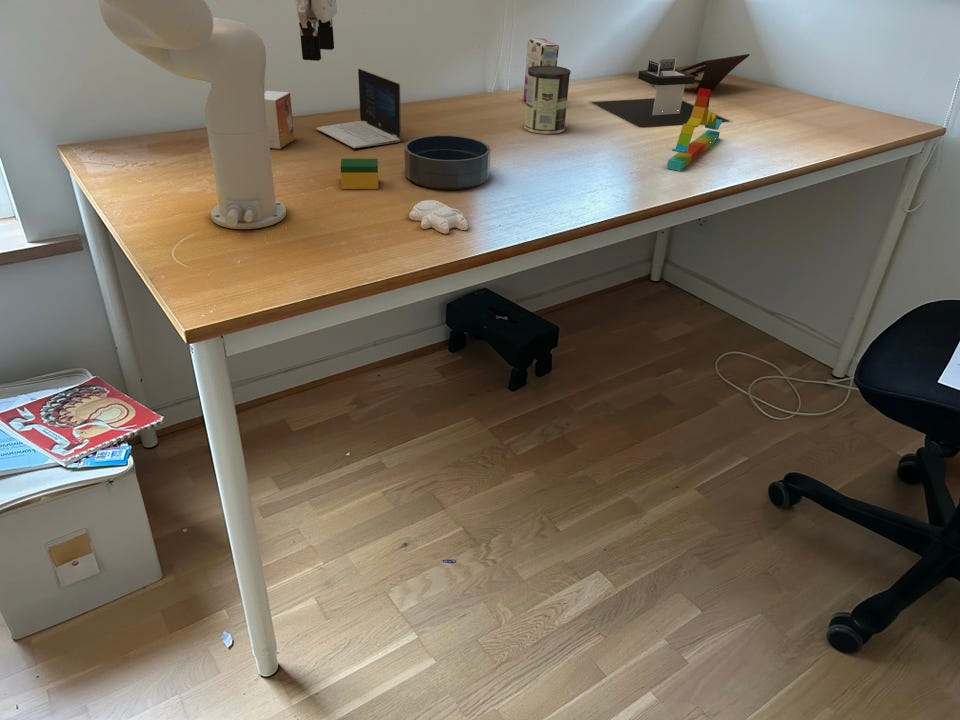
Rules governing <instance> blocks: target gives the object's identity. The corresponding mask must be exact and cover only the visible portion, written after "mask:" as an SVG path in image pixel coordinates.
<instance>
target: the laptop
mask: <svg viewBox="0 0 960 720" xmlns="http://www.w3.org/2000/svg"><path fill="white" fill-rule="evenodd" d="M357 70H358V71H357V77H358V98H359V99H358V100H359V116H360V117H359V118H360V120H356V121H351V122H344V123H337V124H336V123H335V124H331V125H330V124H329V125H322V126H318V127H317V126H316V128H315V129H316V130H317V131H320V132H321V133H323V134H325V135H327V136H329V137H331V138H333V139H335V140H337V141H339V142H341V143H342V144H345V145H347V146H348V147H350V148H352V149H361V148H366V147H373V146H381V145H388V144H395V143H400V142H401V139H402V111H401V110H402V109H401V83H400V82H397V81H395V80H392V79H390V78H387V77H384V76H381V75H378V74H376V73H373V72H371V71H368V70H365V69H362V68H358V69H357Z"/></svg>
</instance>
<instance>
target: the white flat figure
mask: <svg viewBox="0 0 960 720" xmlns="http://www.w3.org/2000/svg"><path fill="white" fill-rule="evenodd" d="M408 216H409V219H410V220H412V221H417V222H418V221H419V222H420V227H421V229H422V230H427V229H430V228H432V229H434V230H435V231H437V232H439V233H441V234H444V235H446V234H448V233H449V232H450V229H453V228H456V229H459V230H461V231H467V230H468V228H469V222H468V220H467V218H466V216H464V212H462V211H461V210H460V209H457V208H452V207H450V206H449V205H447V204H444V203H443V202H441V201H439V200H436V199H425V200H422V201H420V202H417V203H416V204H415V205H413V207H412V209H411V211H410V212H409V215H408Z"/></svg>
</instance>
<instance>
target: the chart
mask: <svg viewBox="0 0 960 720" xmlns="http://www.w3.org/2000/svg"><path fill="white" fill-rule="evenodd" d="M711 92H712V89H704V88H699V91H698V92H697V94H696V98H695V101H694V104H693V106H694V107H693V111H692V114H691V117H690V119H689V120H688V122H687V123H685V124H682V126H681V130H680V134H679V136H678V139H677V142H676V145H675V148H671V151H672V152H676V153H675V154H674V155H673V156H672V157H670V158H669V159H668V161H667V162H666V165H667V167H666V169H669V170H673V171H678V172H681V171H682V170H683V169H685V168H686V167H687V166H688V165H689V164H691V163H692V162H693V161H694V160H695V159H697V158H698V157H700V155H702V154H703V153H704V152H705V151H706V150H708V149H709V148H710V147H712V145H714V144H715V143H716V142H717V141H719V137H720V134H721V133H720V131H717V130H719V128H720V126H721V125H722V123H723V121H722V120H718V119H716V116H718V115H717V113H713V112H711V111H709V108H710V100H711ZM699 126H704V128H705V129H706V131H704V132H703V133H702V134H701V135H700V136H698V137H696V138H695V139H694V140H692V137H693V135H694V131H695V128H699ZM715 138H716V139H715ZM691 141H692V142H691ZM710 142H711V143H710Z"/></svg>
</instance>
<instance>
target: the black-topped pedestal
mask: <svg viewBox="0 0 960 720" xmlns="http://www.w3.org/2000/svg"><path fill="white" fill-rule="evenodd" d="M647 64H648V65H647V69H646V70H639V71H638V75H637V76H638V77H637V79H638V80H640V81H642V82H645V83H647V84H650V85H652V86H653V87H654V88H655V89H656V90H655V96H654V98H641V99H640V98H639V99H637V98H636V99H622V100H621V99H620V100H603V101H602V100H601V101H592V103H593V104H594V105H597V106H599V107H600V108H603V109H604V110H606V111H608V112H610V113H612V114H614V115H616V116H618V117H620V118H621V119H623V120H625V121H627V122H629V123H632V124H633V125H636V126H637V127H640V128H643V127H644V128H645V127H647V128H648V127H660V126H675V125H683V124H685V123H687V122H688V120H689V119H690V117H691V114H692V111H693V107H694V104H691V103H688V102H687V101H684V100H683V98H684V92H685V87H686V85H695V82H696V81H695V80H696V77H695V76H694V75H691V74H689V72H688V73H686V72H683V71H680V70H681V69H680V70H679V69H677V68H676V65H677V58H675V59H672V58H671V59H661V58H659V61H658V62H655V61H653V60H651V59H648V63H647ZM677 110H679V111H677ZM662 111H663V112H662ZM716 119H718V120H722V122H729V121H730V120H729V119H727V118H724V117H722V116H719V115H717V116H716Z"/></svg>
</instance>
